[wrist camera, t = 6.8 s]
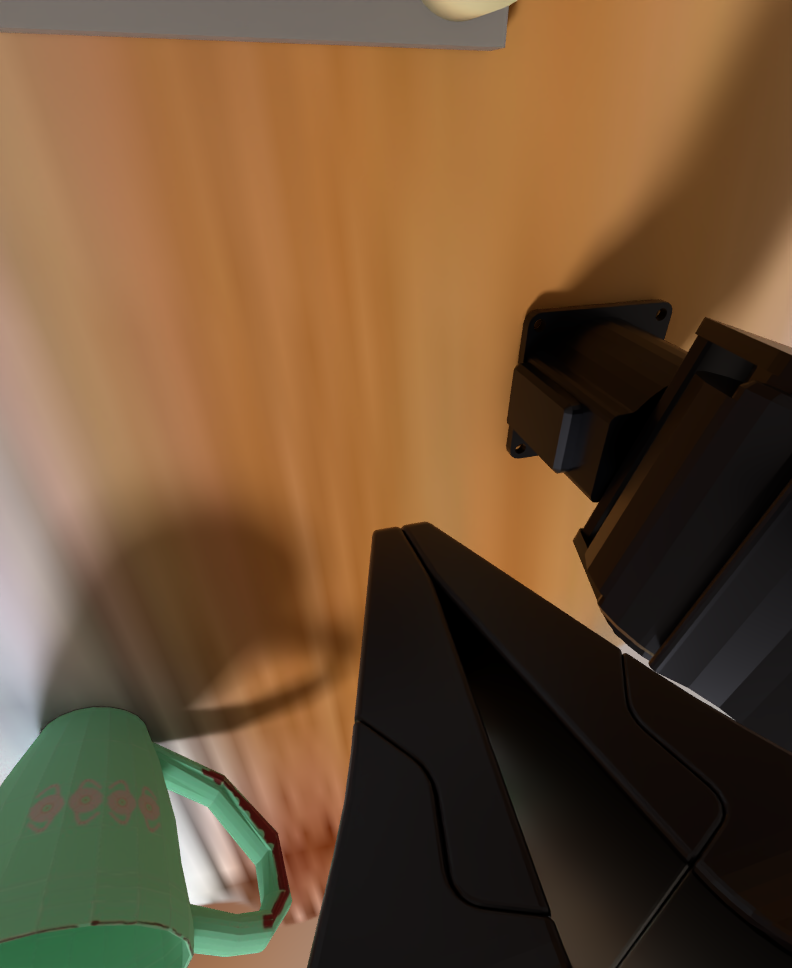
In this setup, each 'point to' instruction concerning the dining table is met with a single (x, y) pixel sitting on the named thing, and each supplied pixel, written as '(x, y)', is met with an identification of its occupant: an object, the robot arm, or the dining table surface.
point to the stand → (272, 21)
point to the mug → (119, 853)
